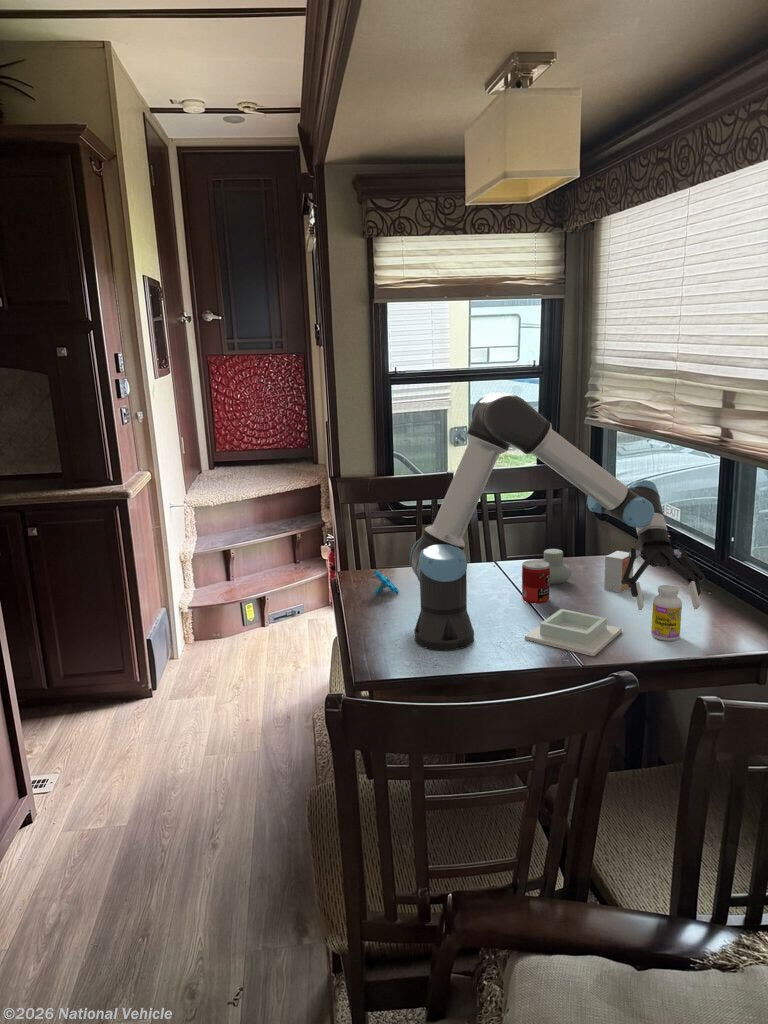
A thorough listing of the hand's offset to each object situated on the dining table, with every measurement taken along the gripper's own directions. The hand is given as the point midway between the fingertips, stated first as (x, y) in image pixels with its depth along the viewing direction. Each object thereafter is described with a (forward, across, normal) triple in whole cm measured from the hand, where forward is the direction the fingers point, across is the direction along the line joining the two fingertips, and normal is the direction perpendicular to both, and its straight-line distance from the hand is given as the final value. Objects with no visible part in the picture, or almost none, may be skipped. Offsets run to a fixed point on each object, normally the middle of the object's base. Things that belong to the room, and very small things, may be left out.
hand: (669, 607), depth 171 cm
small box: (-21, +2, -32) cm, 38 cm away
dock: (+5, +23, -6) cm, 24 cm away
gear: (-20, +73, -30) cm, 81 cm away
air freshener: (-26, +20, -37) cm, 49 cm away
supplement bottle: (+6, +1, -5) cm, 8 cm away
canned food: (-14, +28, -25) cm, 41 cm away
